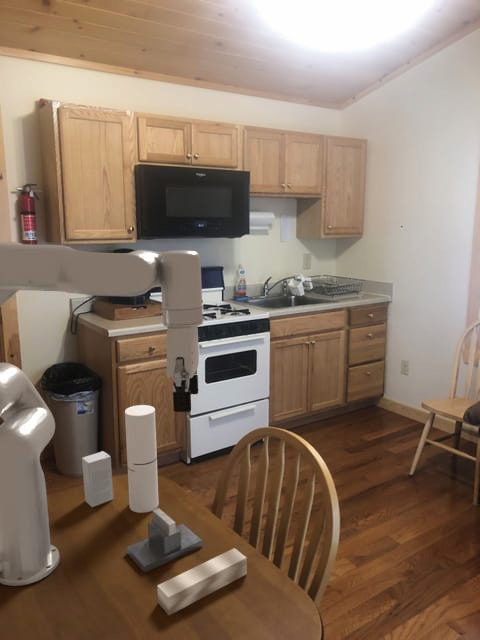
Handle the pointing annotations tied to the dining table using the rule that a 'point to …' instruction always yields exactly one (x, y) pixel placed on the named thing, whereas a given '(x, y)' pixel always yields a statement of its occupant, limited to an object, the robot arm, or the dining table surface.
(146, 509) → the cylindrical container
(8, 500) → the robot arm
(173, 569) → the dining table surface
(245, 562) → the ash bar
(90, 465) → the skincare box
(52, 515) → the dining table surface
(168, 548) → the fulcrum stand
